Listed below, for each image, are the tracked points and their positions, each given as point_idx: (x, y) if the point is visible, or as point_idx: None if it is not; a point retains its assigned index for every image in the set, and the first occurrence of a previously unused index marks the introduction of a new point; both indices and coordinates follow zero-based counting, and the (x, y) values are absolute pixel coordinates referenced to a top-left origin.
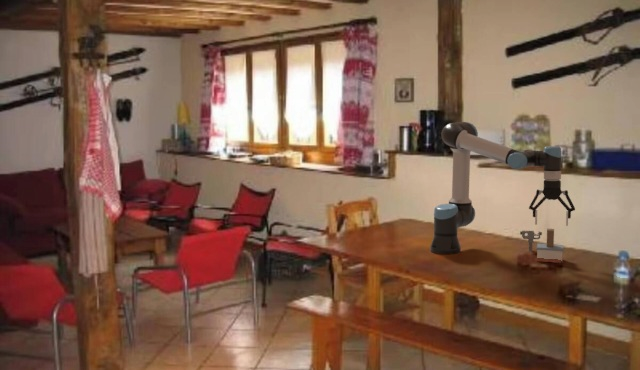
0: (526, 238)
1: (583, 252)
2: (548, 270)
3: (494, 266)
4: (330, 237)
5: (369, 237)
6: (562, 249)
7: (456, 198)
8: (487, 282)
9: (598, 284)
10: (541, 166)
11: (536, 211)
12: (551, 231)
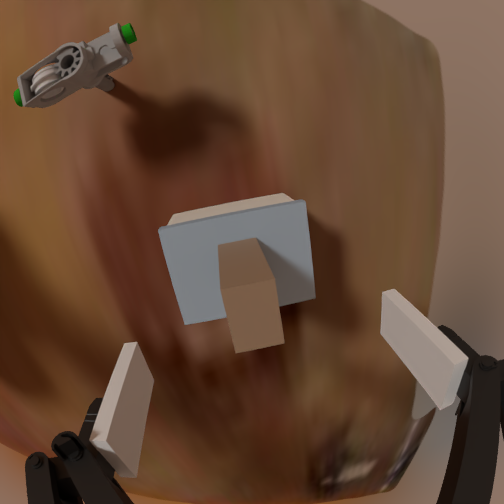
0: (64, 97)
1: (340, 16)
2: (262, 375)
3: (100, 397)
4: None
5: None
6: (311, 297)
7: None
8: (166, 486)
9: (388, 411)
10: None
11: (131, 473)
12: (266, 343)
